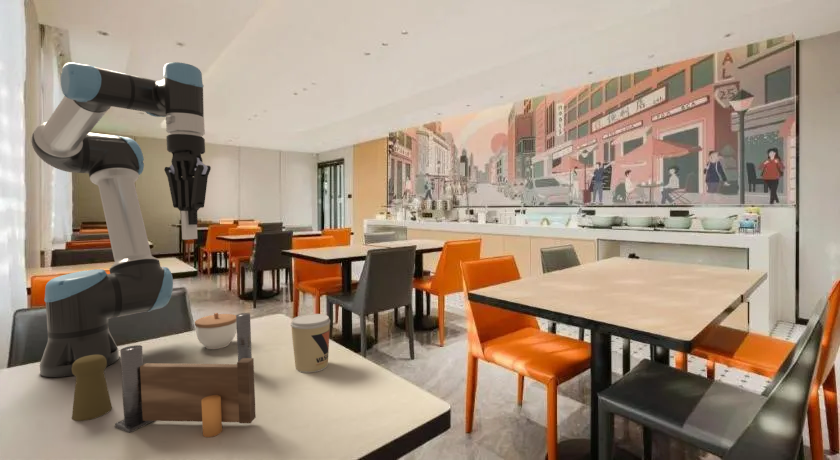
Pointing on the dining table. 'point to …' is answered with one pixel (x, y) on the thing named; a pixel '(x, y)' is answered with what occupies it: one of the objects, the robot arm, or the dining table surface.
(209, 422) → the post
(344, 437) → the dining table surface
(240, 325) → the gate frame
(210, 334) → the lidded jar
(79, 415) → the cork
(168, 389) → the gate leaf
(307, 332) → the coffee cup
